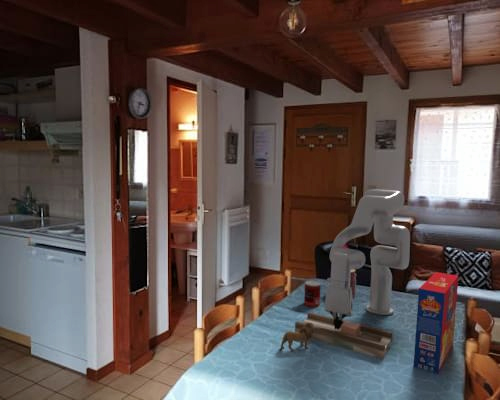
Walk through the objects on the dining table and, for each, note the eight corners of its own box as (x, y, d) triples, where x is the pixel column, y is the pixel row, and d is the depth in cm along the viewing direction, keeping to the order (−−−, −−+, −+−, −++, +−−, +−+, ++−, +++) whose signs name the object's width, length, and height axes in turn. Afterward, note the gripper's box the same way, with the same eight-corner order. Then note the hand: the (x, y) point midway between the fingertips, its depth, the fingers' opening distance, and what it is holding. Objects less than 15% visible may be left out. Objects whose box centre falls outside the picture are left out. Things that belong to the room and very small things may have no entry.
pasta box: (438, 374, 131) (444, 293, 128) (413, 366, 135) (419, 288, 133) (452, 345, 153) (458, 275, 151) (431, 339, 158) (436, 271, 156)
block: (345, 330, 157) (345, 320, 157) (360, 334, 154) (360, 324, 153) (340, 335, 152) (340, 325, 151) (355, 339, 149) (356, 329, 148)
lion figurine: (308, 341, 153) (309, 319, 152) (316, 347, 148) (317, 324, 147) (276, 348, 146) (276, 325, 145) (283, 355, 141) (284, 331, 140)
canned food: (319, 302, 198) (320, 281, 197) (320, 307, 190) (321, 285, 189) (303, 301, 198) (304, 280, 197) (304, 306, 190) (305, 284, 190)
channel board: (308, 323, 170) (308, 312, 170) (391, 344, 152) (392, 332, 152) (294, 334, 158) (295, 322, 158) (383, 359, 140) (384, 345, 140)
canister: (357, 293, 213) (359, 261, 212) (353, 300, 202) (355, 267, 200) (333, 289, 219) (335, 258, 217) (328, 296, 207) (329, 263, 206)
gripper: (318, 281, 155) (316, 326, 157) (356, 289, 147) (353, 336, 149) (325, 277, 161) (323, 320, 163) (361, 284, 154) (359, 329, 155)
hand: (337, 328), depth 156 cm, fingers closed
